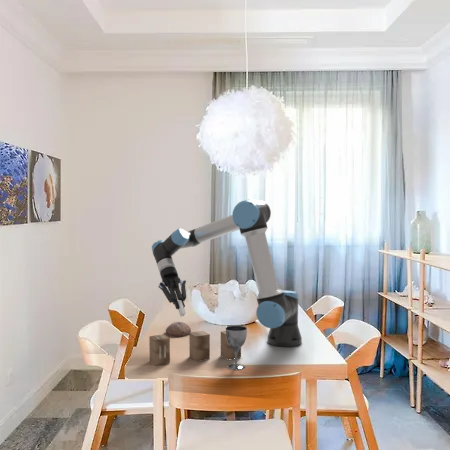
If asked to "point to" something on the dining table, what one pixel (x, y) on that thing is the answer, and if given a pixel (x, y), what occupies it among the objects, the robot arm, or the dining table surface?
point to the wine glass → (236, 342)
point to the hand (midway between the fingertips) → (183, 314)
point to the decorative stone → (178, 329)
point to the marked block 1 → (159, 349)
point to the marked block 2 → (227, 348)
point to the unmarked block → (199, 345)
